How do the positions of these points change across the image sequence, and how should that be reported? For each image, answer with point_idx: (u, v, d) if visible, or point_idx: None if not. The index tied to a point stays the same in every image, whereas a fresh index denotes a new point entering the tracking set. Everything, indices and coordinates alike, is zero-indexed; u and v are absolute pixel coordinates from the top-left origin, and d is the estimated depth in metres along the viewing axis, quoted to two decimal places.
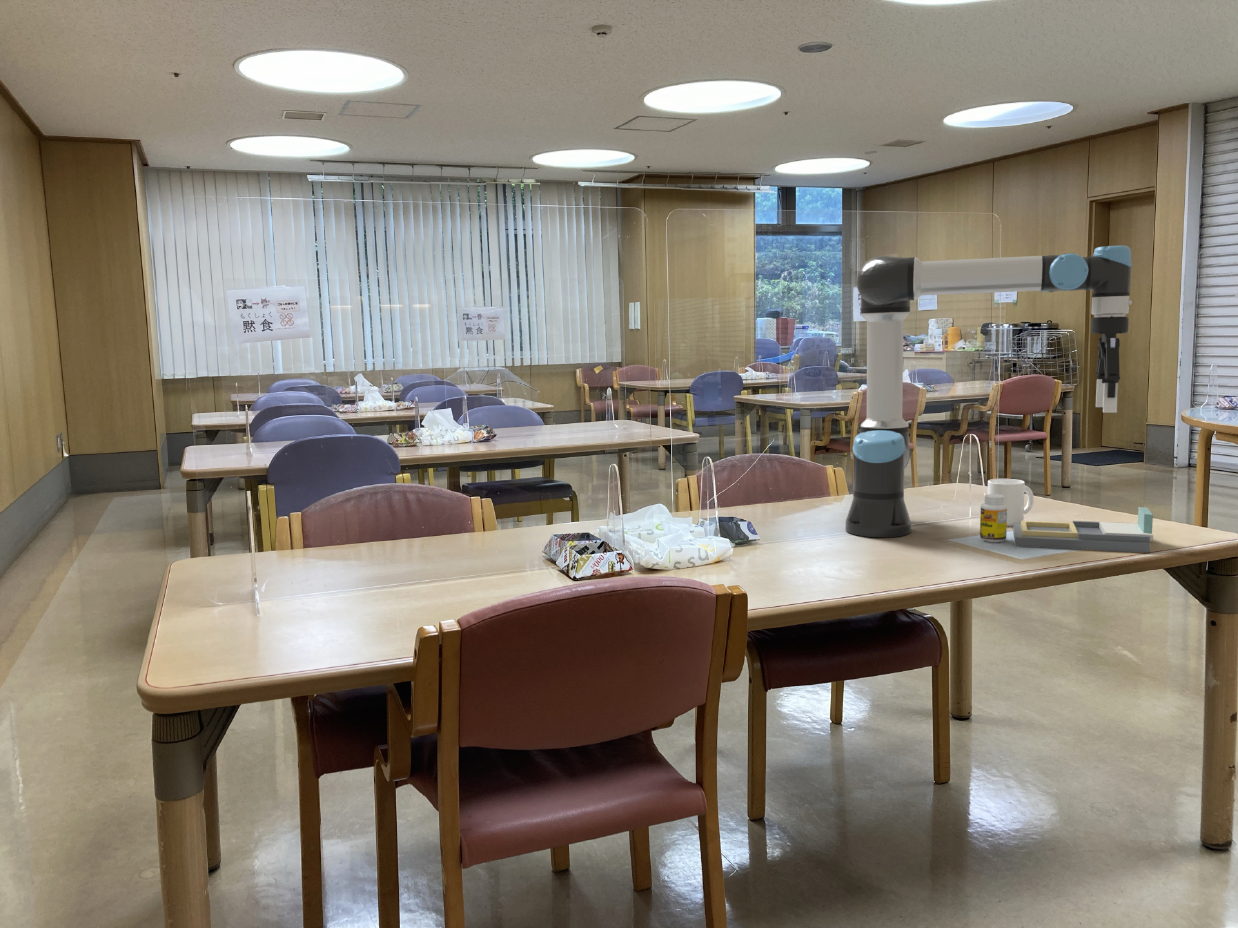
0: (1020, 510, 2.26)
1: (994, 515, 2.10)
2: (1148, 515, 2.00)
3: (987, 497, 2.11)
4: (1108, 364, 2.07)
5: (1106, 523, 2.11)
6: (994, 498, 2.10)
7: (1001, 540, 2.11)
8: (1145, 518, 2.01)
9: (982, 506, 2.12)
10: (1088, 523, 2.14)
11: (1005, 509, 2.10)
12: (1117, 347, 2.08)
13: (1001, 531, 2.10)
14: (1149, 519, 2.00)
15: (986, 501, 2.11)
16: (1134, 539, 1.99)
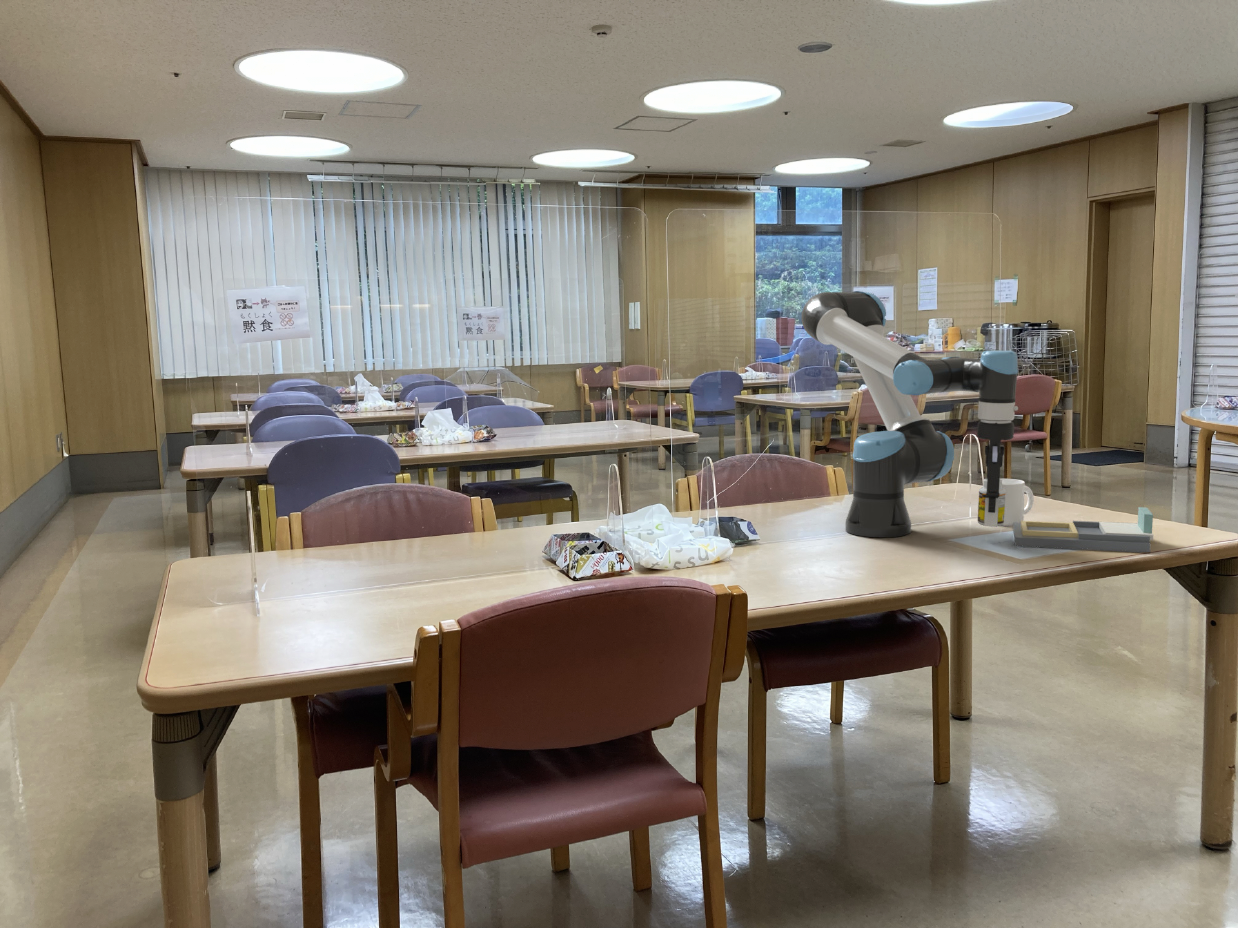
0: (1020, 510, 2.26)
1: None
2: (1148, 515, 2.00)
3: (986, 481, 2.11)
4: (989, 480, 2.06)
5: (1106, 523, 2.11)
6: None
7: (999, 524, 2.11)
8: (1145, 518, 2.01)
9: (980, 490, 2.12)
10: (1088, 523, 2.14)
11: (1003, 493, 2.10)
12: (999, 462, 2.05)
13: (999, 516, 2.10)
14: (1149, 519, 2.00)
15: (984, 485, 2.11)
16: (1134, 539, 1.99)
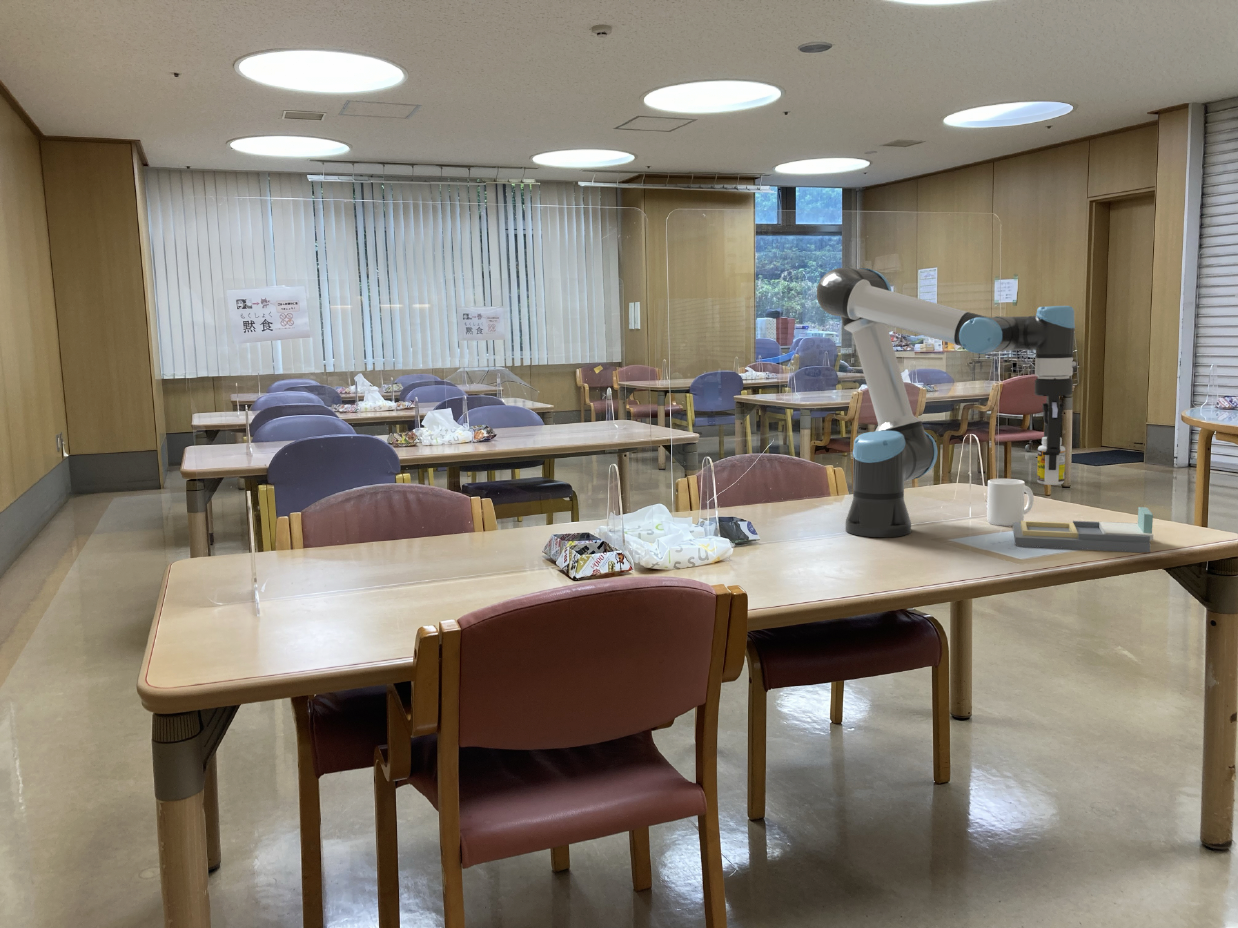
0: (1020, 510, 2.26)
1: None
2: (1148, 515, 2.00)
3: (1045, 439, 2.08)
4: (1049, 436, 2.03)
5: (1106, 523, 2.11)
6: None
7: (1059, 482, 2.07)
8: (1145, 518, 2.01)
9: (1039, 448, 2.09)
10: (1088, 523, 2.14)
11: (1063, 450, 2.07)
12: (1059, 418, 2.02)
13: (1060, 473, 2.07)
14: (1149, 519, 2.00)
15: (1044, 443, 2.08)
16: (1134, 539, 1.99)
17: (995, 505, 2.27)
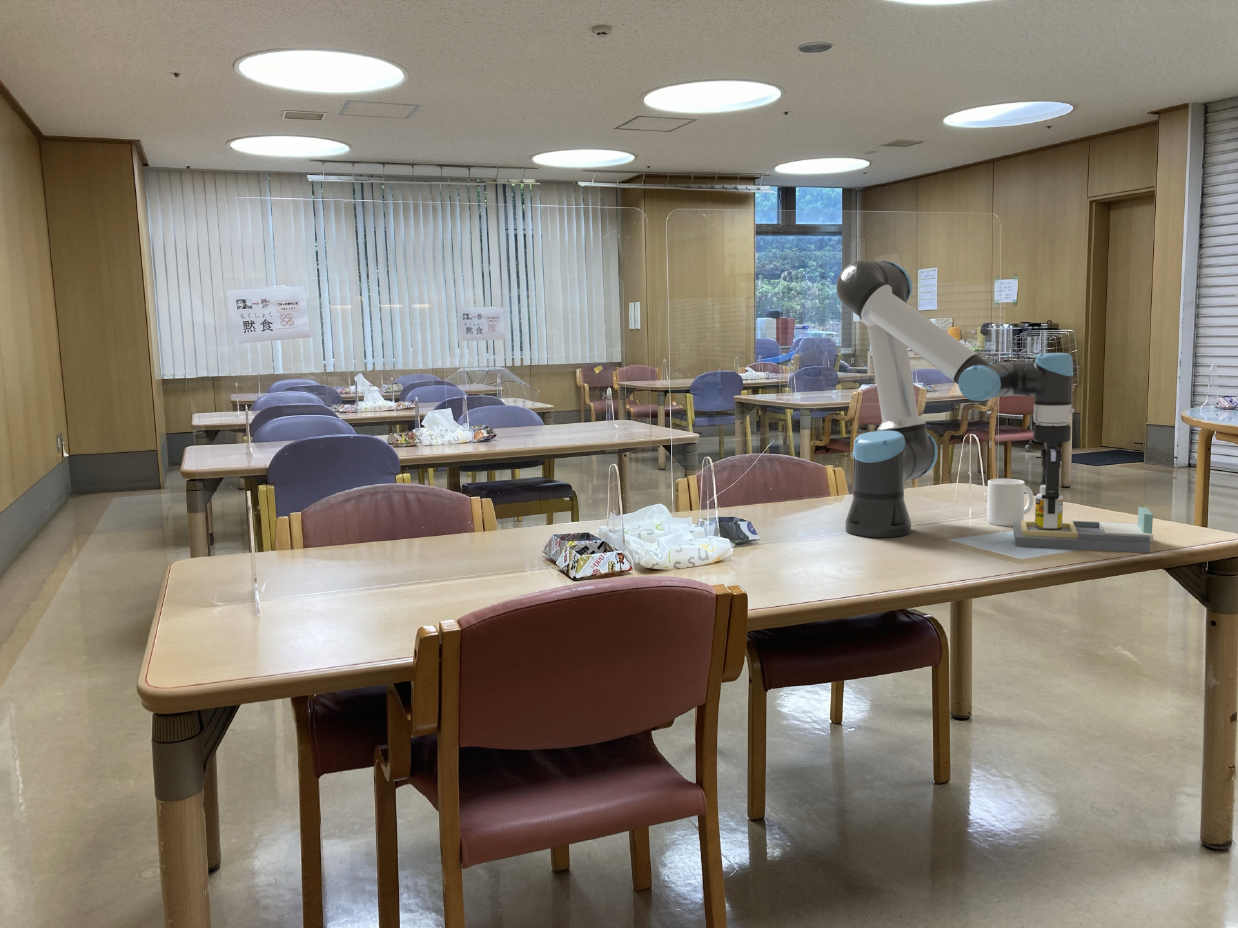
0: (1020, 510, 2.26)
1: None
2: (1148, 515, 2.00)
3: (1043, 487, 2.09)
4: (1048, 480, 2.03)
5: (1106, 523, 2.11)
6: None
7: None
8: (1145, 518, 2.01)
9: (1037, 496, 2.10)
10: (1088, 523, 2.14)
11: (1061, 499, 2.08)
12: (1057, 462, 2.03)
13: (1057, 522, 2.09)
14: (1149, 519, 2.00)
15: (1042, 491, 2.10)
16: (1134, 539, 1.99)
17: (995, 505, 2.27)
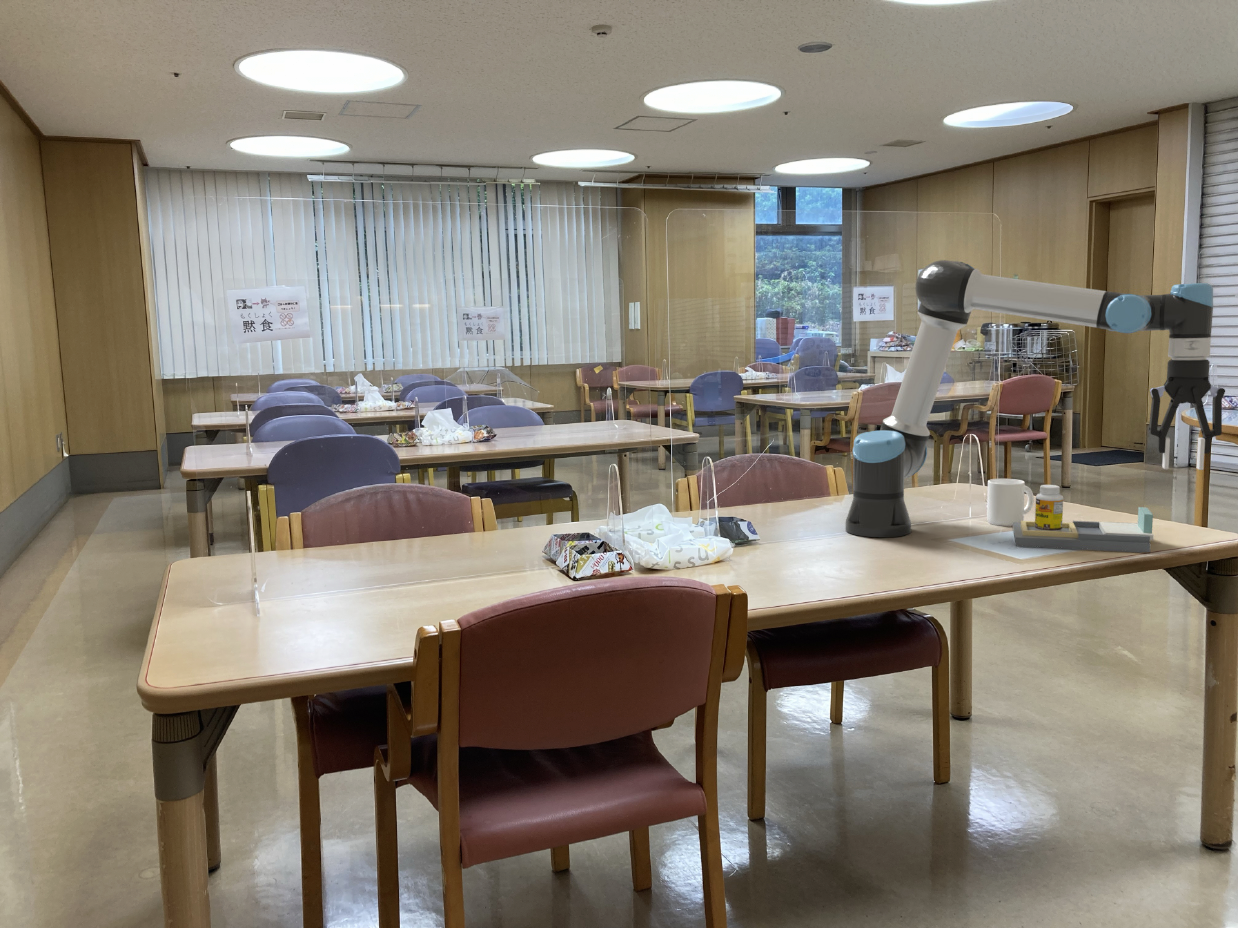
0: (1020, 510, 2.26)
1: (1050, 506, 2.08)
2: (1148, 515, 2.00)
3: (1043, 487, 2.09)
4: (1150, 417, 2.02)
5: (1106, 523, 2.11)
6: (1050, 488, 2.08)
7: None
8: (1145, 518, 2.01)
9: (1038, 497, 2.10)
10: (1088, 523, 2.14)
11: (1061, 499, 2.08)
12: (1153, 399, 2.00)
13: (1057, 522, 2.09)
14: (1149, 519, 2.00)
15: (1042, 491, 2.10)
16: (1134, 539, 1.99)
17: (995, 505, 2.27)
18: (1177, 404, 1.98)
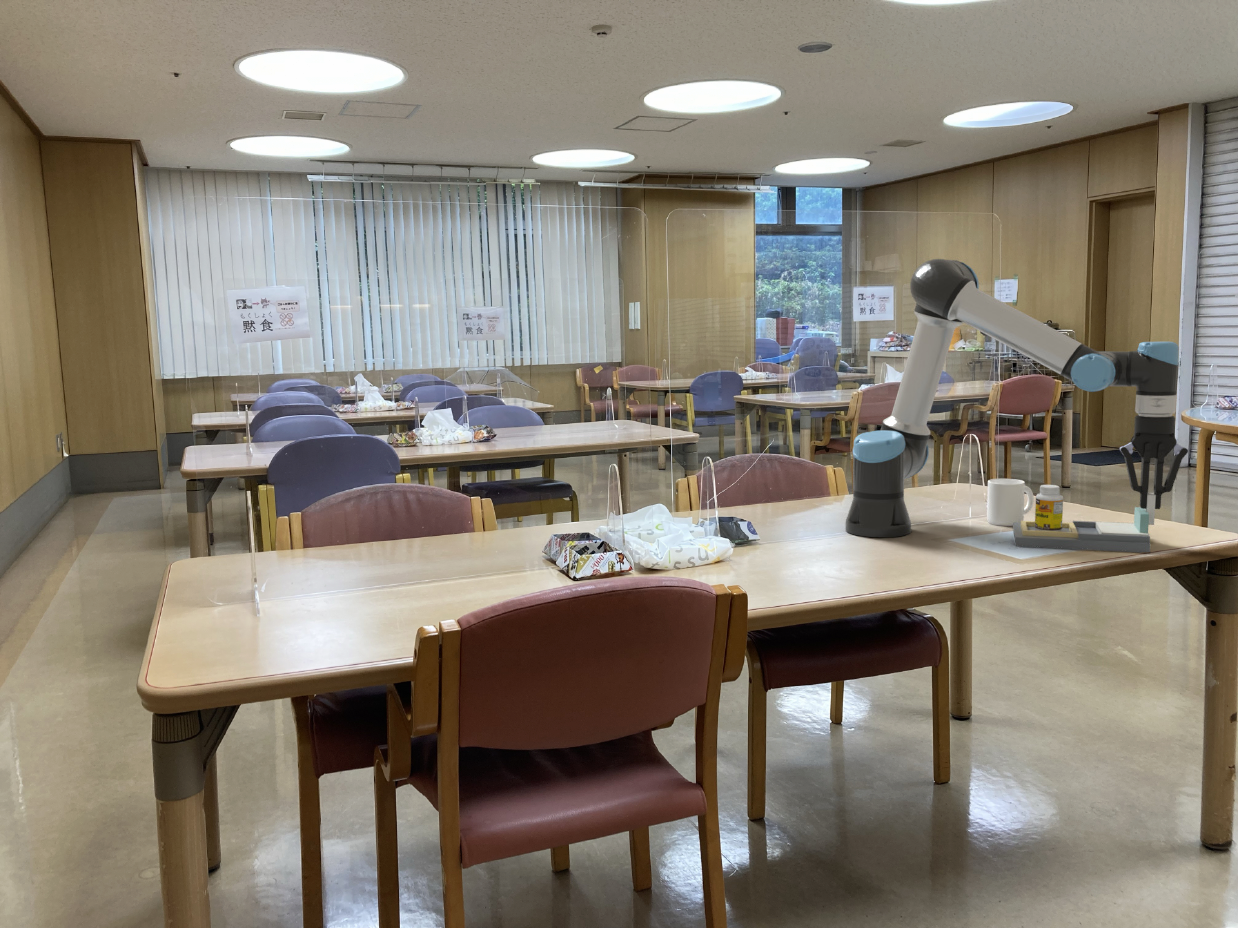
0: (1020, 510, 2.26)
1: (1050, 505, 2.08)
2: (1144, 515, 2.01)
3: (1043, 487, 2.09)
4: (1128, 474, 2.05)
5: (1102, 523, 2.11)
6: (1050, 488, 2.08)
7: None
8: (1141, 518, 2.01)
9: (1037, 497, 2.10)
10: (1088, 523, 2.14)
11: (1061, 499, 2.08)
12: (1125, 457, 2.03)
13: (1057, 522, 2.09)
14: (1145, 519, 2.01)
15: (1042, 491, 2.10)
16: (1134, 539, 1.99)
17: (995, 505, 2.27)
18: (1148, 459, 2.01)
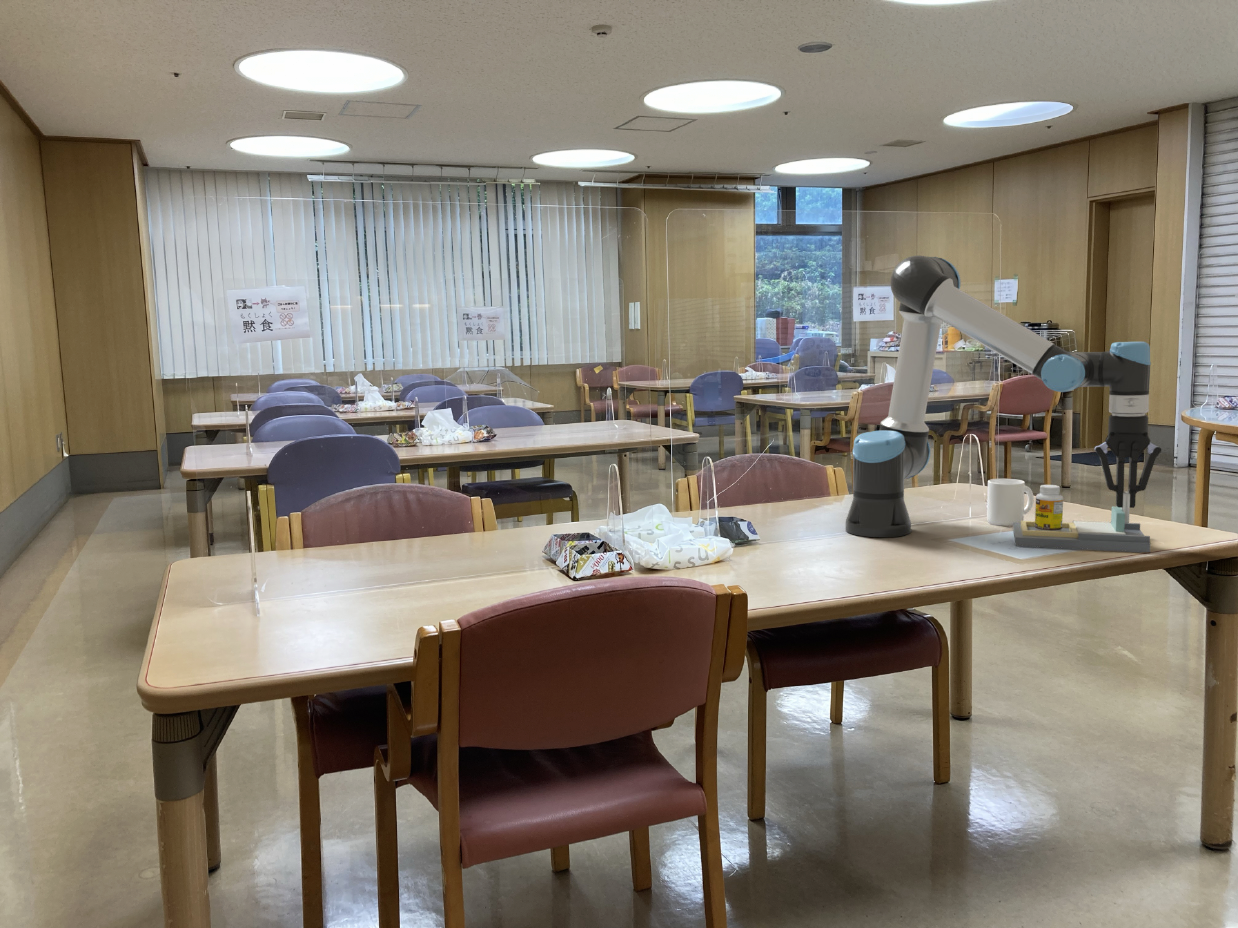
0: (1020, 510, 2.26)
1: (1050, 505, 2.08)
2: (1120, 514, 2.02)
3: (1043, 487, 2.09)
4: None
5: (1080, 522, 2.13)
6: (1050, 488, 2.08)
7: None
8: (1117, 517, 2.03)
9: (1038, 496, 2.10)
10: None
11: (1061, 499, 2.08)
12: (1100, 457, 2.05)
13: (1057, 522, 2.09)
14: (1121, 518, 2.02)
15: (1042, 491, 2.10)
16: (1134, 539, 1.99)
17: (995, 505, 2.27)
18: (1123, 459, 2.03)
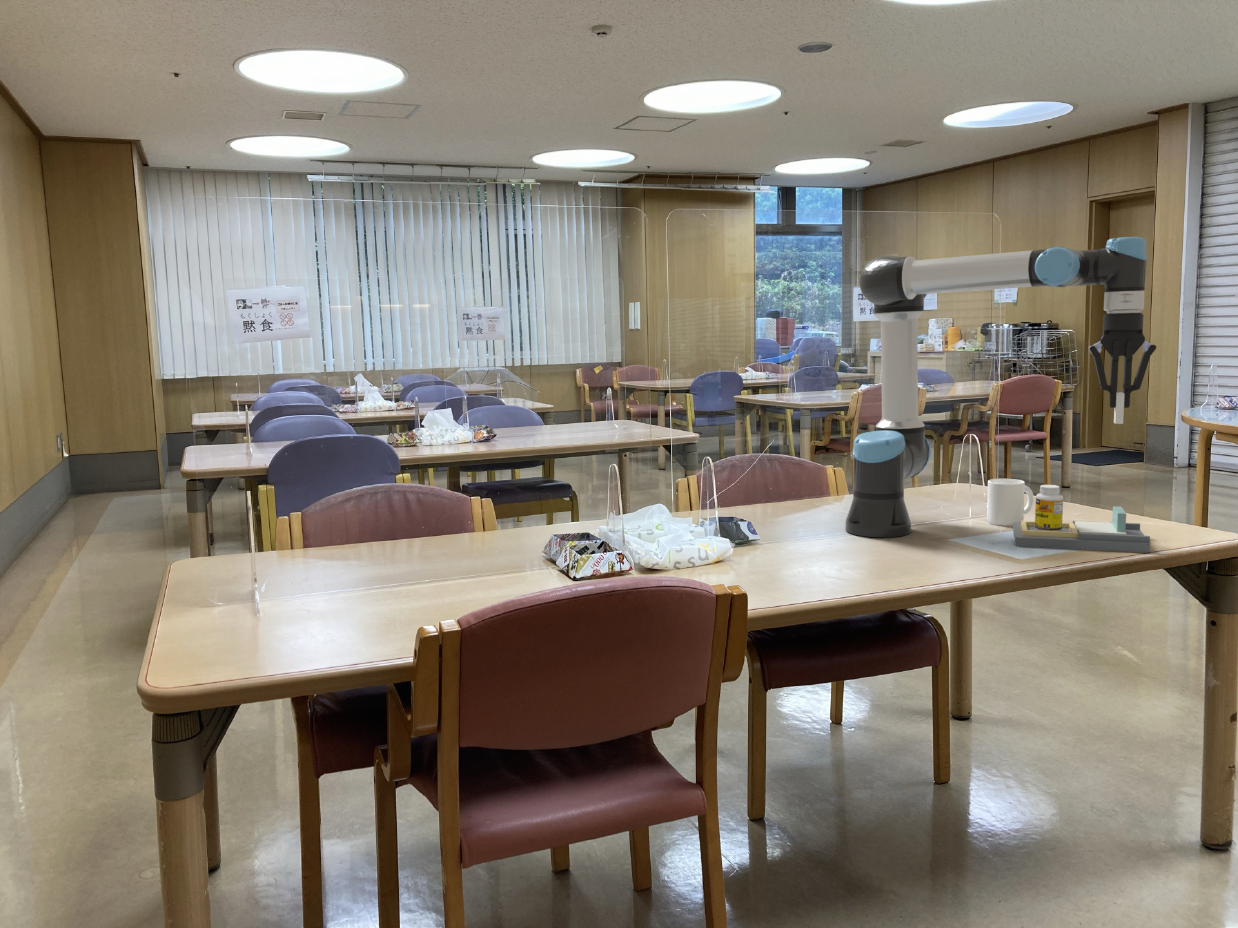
0: (1020, 510, 2.26)
1: (1050, 505, 2.08)
2: (1121, 514, 2.02)
3: (1043, 487, 2.09)
4: (1097, 373, 2.04)
5: (1081, 522, 2.13)
6: (1050, 488, 2.08)
7: None
8: (1118, 517, 2.02)
9: (1038, 496, 2.10)
10: None
11: (1061, 499, 2.08)
12: (1094, 356, 2.02)
13: (1057, 522, 2.09)
14: (1122, 518, 2.02)
15: (1042, 491, 2.10)
16: (1134, 539, 1.99)
17: (995, 505, 2.27)
18: (1117, 357, 2.00)
